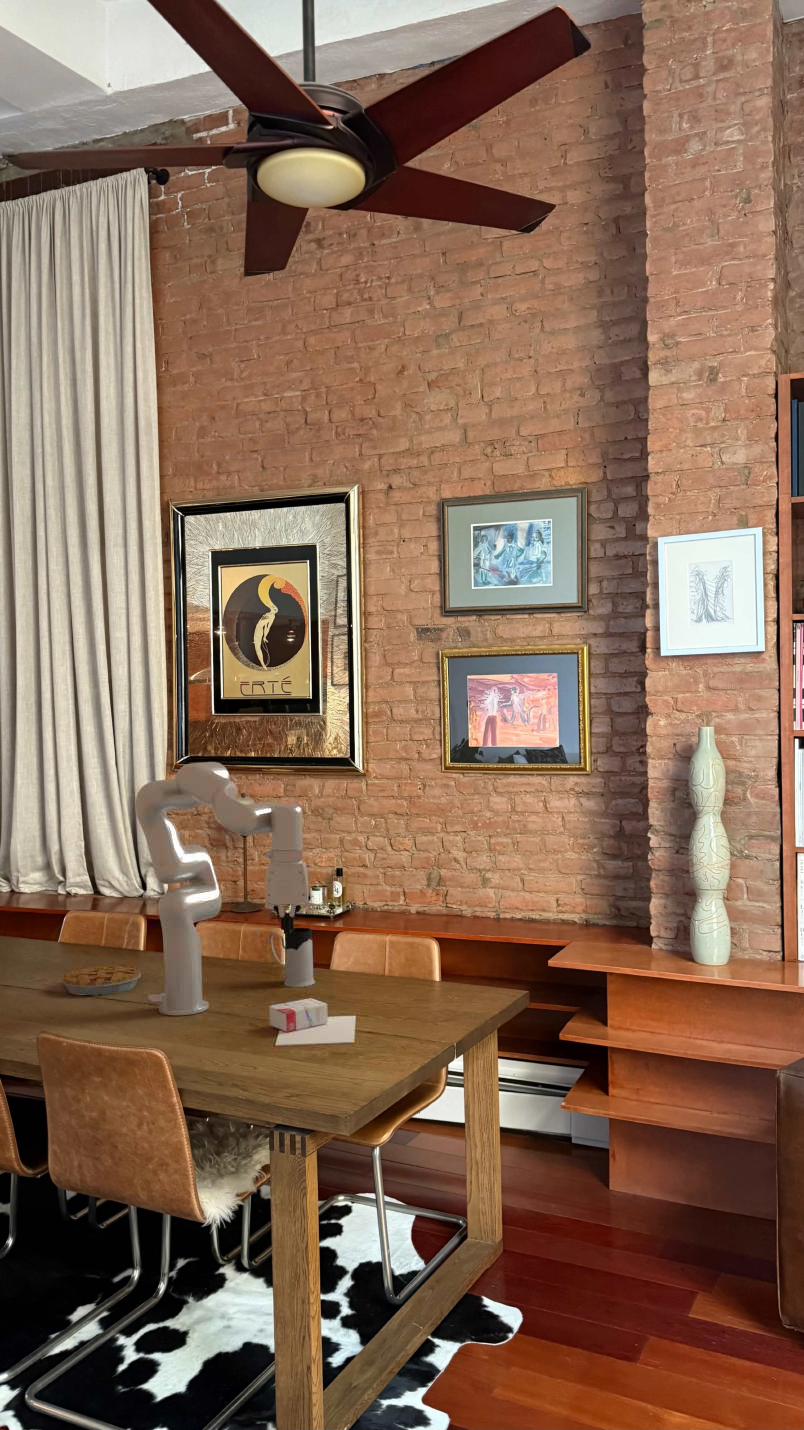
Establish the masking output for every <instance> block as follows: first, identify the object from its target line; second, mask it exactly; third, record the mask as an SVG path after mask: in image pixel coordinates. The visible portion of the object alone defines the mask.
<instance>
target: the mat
mask: <svg viewBox="0 0 804 1430" xmlns="http://www.w3.org/2000/svg"><path fill="white" fill-rule="evenodd" d="M356 1017H357V1015H344V1016H343V1015H342V1016H341V1015H340V1016H327V1019H328V1023H325V1024H321V1025H316V1026H312V1027H308V1028H303V1029H299V1030H295V1031H291V1032H287V1033H286V1032H284V1031H282V1030H280V1029H279V1032H278V1035H277V1037H276V1042H275V1047H285V1046H311V1045H316V1046H317V1045H334V1044H335V1045H337V1044H339V1045H340V1044H354V1043H355V1038H356V1037H355V1035H356V1033H355V1032H356V1022H357V1021H356Z"/></svg>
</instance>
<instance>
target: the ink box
mask: <svg viewBox="0 0 804 1430" xmlns="http://www.w3.org/2000/svg"><path fill="white" fill-rule="evenodd" d="M268 1007H269V1011H268V1012H269V1025H270V1026H272V1027H274V1028H275V1029H279V1031H280V1030H282V1031H284V1032H286V1033H287V1032H291V1031H295V1030H299V1029H303V1028H308V1027H312V1026H316V1025H321V1024H325V1023H328V1019H327V1017H328V1004H327V1002H323V1001H320V1000H318V999H315V998H312V997H311V998H310V997H309V998H305V999H299V1000H294V1001H287V1002H285V1003H284V1002H283V1003H279V1004H273V1005H269V1006H268Z"/></svg>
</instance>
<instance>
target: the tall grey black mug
mask: <svg viewBox="0 0 804 1430" xmlns="http://www.w3.org/2000/svg"><path fill="white" fill-rule="evenodd" d="M274 935H278V936H279V937H280V939H281V946H282V948H283V949H284V964H283V963H282V962H281V960H280V959H279V958H278V956H277V954H276V951H275V948H274V944H273V943H274V942H273V940H274V939H273V938H274ZM312 938H313V937H312V929H311V928H309V927H294V930H291V934H288V933H286V934H284V937H283V934H282V933H280V932H274V933H272V934H271V936H270V948H271V951H272V952H271V953H272V954H273V958H274V959H275V961H277V963H278V964H279V966H281V967H282V969H283V970H284V973H285V975H284V977H285V981H284V982H283V984H284V986H285V987H289V988H290V987H291V988H303V987H304V986H305V987H309V985H310V986H313V985H314V983H315V984H316V980H315V979H314V960H313V959H314V957H313V956H314V955H313V951H314V950H313V939H312ZM312 984H313V985H312Z"/></svg>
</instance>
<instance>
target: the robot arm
mask: <svg viewBox="0 0 804 1430" xmlns="http://www.w3.org/2000/svg"><path fill="white" fill-rule="evenodd" d="M237 789H238V788H237V785H236V784H235V782H234V781H232V780H231V777H230V774H229V771H228V769H227V767H225V766H224V765H223V764H222V763H220V762H215V761H207V762H205V761H204V762H191V763H187V764H185V765H183V766H182V767H180V769H178V771H177V772H176V774H175V778H171V779H170V778H169V779H158V780H153V781H149V782H148V783H146V784H144V785H143V786H141V787H140V789H139V790H138V792H137V795H136V798H135V802H134V806H135V814H136V817H137V820H138V823H139V825H140V828H141V829H142V833H143V834H144V836H145V837H144V838H145V840H146V843H147V844H146V845H147V848H148V852H149V856H150V860H151V864H152V866H153V867H152V868H153V870H154V874H155V877H156V879H157V881H159V882H160V883H161V884H164V885H174V884H181V883H185V882H188V885H186V886H181V887H176V888H173V889H170V890H167V891H166V892H164V893H163V894H162V895H161V897H160V898H159V901H158V904H157V905H158V906H157V908H158V909H157V910H158V911H157V912H158V915H159V920H160V925H161V929H162V943H163V944H162V946H163V968H164V969H163V971H164V972H163V973H164V974H163V977H164V979H163V980H164V992H161V993H160V994H149V995H148V999H147V1001H148V1003H151V1005H152V1004H160V1005H159V1007H158V1010H159V1013H161V1014H162V1015H165V1016H166V1015H167V1016H189V1015H195V1014H199V1013H202V1012H204V1011H206V1010H208V1009H209V1007H210V1006H209V1005H210V1004H209V1002H208V1001H206V1000H204V999H203V979H202V977H203V976H202V947H201V946H202V945H201V944H202V943H201V937H200V934H199V932H198V930H197V928H196V927H195V925H194V924H195V923H196V922H201V921H204V920H209V919H213V918H214V917H216V916H217V915H218V914H219V913H220V911H221V909H222V905H223V904H222V901H223V900H222V895H221V894H222V893H221V890H220V886H219V882H218V880H217V879H218V878H217V876H216V872H215V868H214V864H213V860H212V857H211V856H210V854H209V853H208V851H207V849H205V848H204V847H203V846H202V845H199V844H185V845H183V843H182V841H181V837H180V834H179V830H178V828H177V826H176V824H175V823H174V822H173V821H172V819H171V818H170V817H169V816H168V815H167V814H166V813H169V812H176V811H177V812H179V811H188V810H193V809H196V808H198V807H200V806H203V805H204V806H205V807H207V808H209V809H211V810H212V813H213V816H214V818H215V820H216V822H218V824H219V825H221V826H222V827H224V828H226V829H228V830H229V831H231V832H233V833H236V835H241V836H245V837H246V836H255V835H260V834H269V833H270V843H271V844H270V846H271V847H270V848H271V849H270V850H268V851H264V856H265V858H268V859H270V861H268V863H267V866H266V867H267V868H266V873H265V874H266V875H265V895H264V897H265V903H264V908H265V909H268V910H272V911H274V912H275V913H276V914H278V915H279V917H280V930H282V931H283V935H285V934H286V933H288V934H291V930H294V928H295V916H296V914H298V913H299V911H300V910H305V909H309V907H310V899H309V890H310V889H309V878H308V877H309V875H308V869H307V863H306V861H305V860H303V859H304V858H303V857H304V849H303V848H304V845H303V843H304V841H303V809H302V807H301V806H300V805H299V804H298V805H297V804H291V803H290V804H285V803H284V804H283V803H279V802H276V801H266V802H265V801H264V802H256V803H255V802H253V803H252V802H251V803H247V804H246V803H242V802H240V801H237V800H236V799H237V795H238V790H237ZM285 906H290V909H289V912H288V915H287V912H286V907H285Z"/></svg>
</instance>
